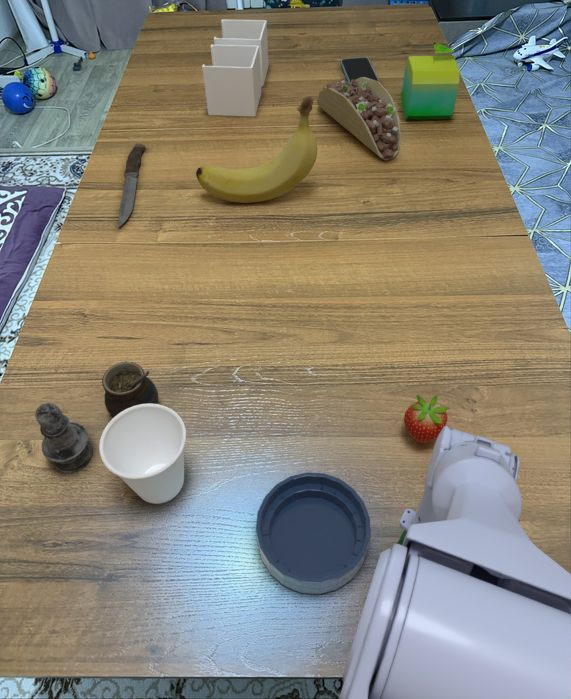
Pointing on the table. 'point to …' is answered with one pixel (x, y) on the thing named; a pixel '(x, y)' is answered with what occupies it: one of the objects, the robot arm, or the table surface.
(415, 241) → the table surface
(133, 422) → the cup
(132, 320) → the table surface
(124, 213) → the knife
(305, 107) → the banana
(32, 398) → the table surface
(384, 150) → the taco
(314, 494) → the bowl
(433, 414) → the fruit
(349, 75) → the smartphone
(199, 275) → the table surface
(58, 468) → the chess piece
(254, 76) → the storage container
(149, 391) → the mate gourd
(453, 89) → the leaf-topped green cube
